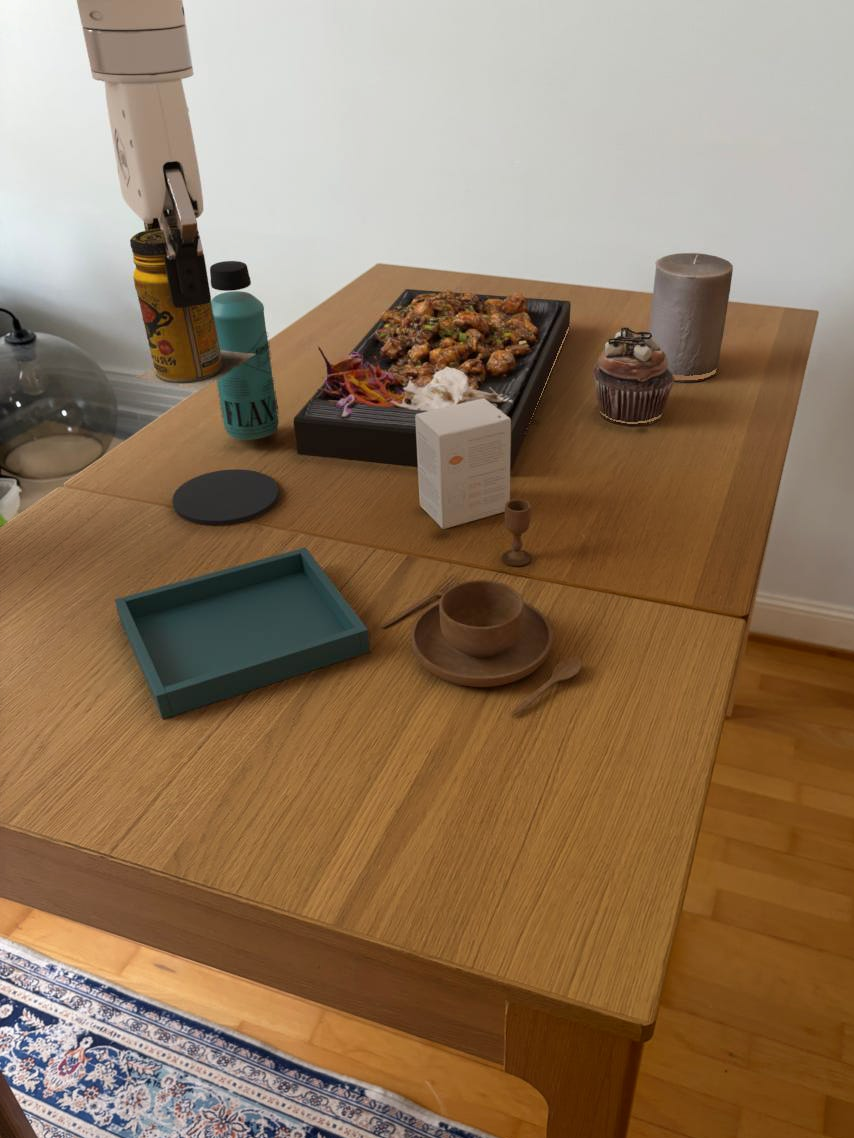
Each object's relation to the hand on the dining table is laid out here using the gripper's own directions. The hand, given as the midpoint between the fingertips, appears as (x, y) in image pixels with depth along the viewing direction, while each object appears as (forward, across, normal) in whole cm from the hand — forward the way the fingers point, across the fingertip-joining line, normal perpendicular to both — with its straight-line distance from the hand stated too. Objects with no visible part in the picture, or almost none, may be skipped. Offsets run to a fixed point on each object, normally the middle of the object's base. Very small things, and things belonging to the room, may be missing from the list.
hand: (182, 290), depth 85 cm
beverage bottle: (+24, -17, +8) cm, 30 cm away
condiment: (+7, 0, 0) cm, 7 cm away
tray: (+23, +20, -4) cm, 31 cm away
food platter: (+23, -20, +36) cm, 47 cm away
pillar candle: (+23, -11, +66) cm, 70 cm away
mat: (+23, -5, +2) cm, 24 cm away
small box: (+23, +9, +23) cm, 34 cm away
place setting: (+23, +29, +17) cm, 41 cm away
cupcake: (+23, -3, +52) cm, 57 cm away
